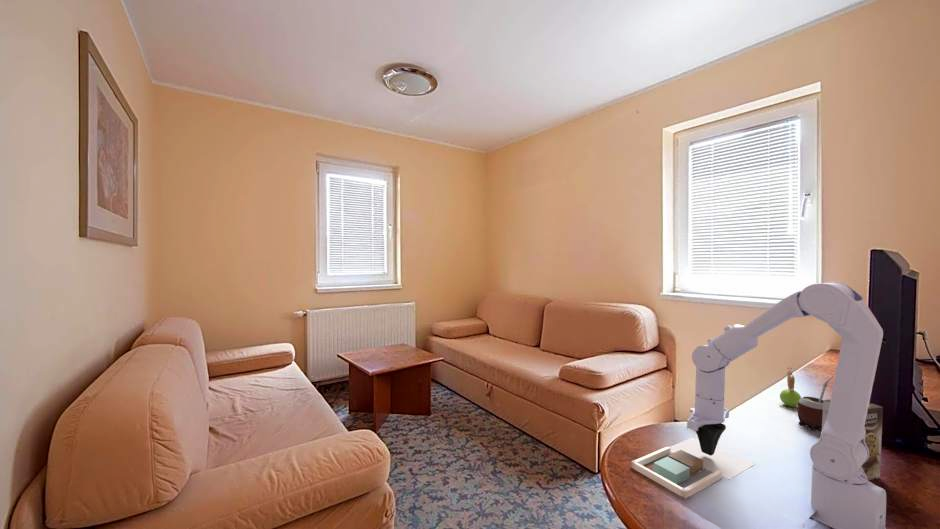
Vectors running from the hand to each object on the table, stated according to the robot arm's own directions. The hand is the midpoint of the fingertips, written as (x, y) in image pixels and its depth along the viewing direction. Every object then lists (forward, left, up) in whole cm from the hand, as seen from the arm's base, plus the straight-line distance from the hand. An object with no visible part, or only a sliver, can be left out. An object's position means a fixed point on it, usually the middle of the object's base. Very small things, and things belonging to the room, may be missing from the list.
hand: (707, 453), depth 87 cm
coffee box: (-18, -24, -3) cm, 31 cm away
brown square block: (0, +9, -2) cm, 9 cm away
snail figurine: (+5, -60, -3) cm, 61 cm away
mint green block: (0, +15, -2) cm, 15 cm away
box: (0, +13, -2) cm, 13 cm away
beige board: (0, 0, -2) cm, 2 cm away
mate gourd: (-5, -47, -3) cm, 48 cm away
